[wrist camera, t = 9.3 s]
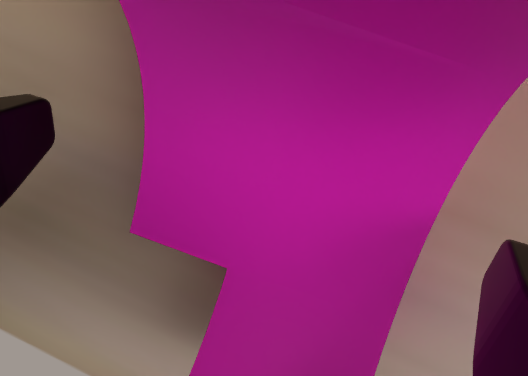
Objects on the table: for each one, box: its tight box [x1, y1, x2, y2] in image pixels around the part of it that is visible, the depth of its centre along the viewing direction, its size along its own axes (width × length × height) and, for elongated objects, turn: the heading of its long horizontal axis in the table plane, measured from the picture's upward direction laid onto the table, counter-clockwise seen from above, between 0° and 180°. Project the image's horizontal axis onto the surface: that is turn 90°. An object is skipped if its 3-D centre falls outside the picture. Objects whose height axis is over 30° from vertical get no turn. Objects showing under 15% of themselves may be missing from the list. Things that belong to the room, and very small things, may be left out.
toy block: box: [119, 0, 528, 376], centre depth 9 cm, size 15×6×8 cm, turn 170°
